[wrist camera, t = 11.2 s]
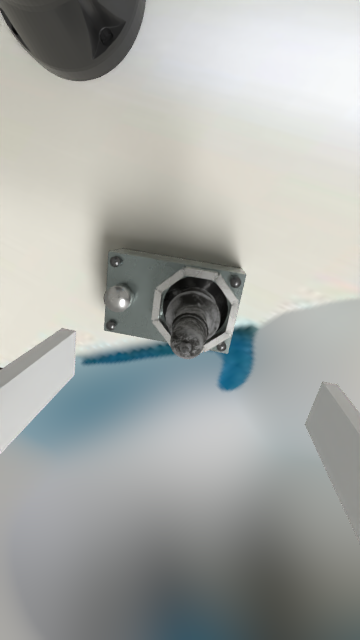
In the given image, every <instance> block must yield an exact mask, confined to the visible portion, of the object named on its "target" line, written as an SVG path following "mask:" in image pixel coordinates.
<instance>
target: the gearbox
mask: <svg viewBox="0 0 360 640" xmlns="http://www.w3.org/2000/svg"><path fill="white" fill-rule="evenodd" d="M245 278H246V274H245V272H244V271H243V269H242V268H236V267H230V266H225V265H219V264H213V263H207V262H201V261H195V260H189V259H183V258H177V257H171V256H165V255H159V254H153V253H147V252H141V251H135V250H129V249H123V248H122V249H117V250H113V251H109V254H108V272H107V289H106V292H105V294H104V302H105V305H106V306H105V323H104V330H105V331H110V332H115V333H121V334H126V335H131V336H137V337H142V338H147V339H152V340H158V341H163V342H168V343H169V345H170V339H171V332H170V330H169V329H168V326H167V323H166V316H165V315H166V310H167V307H168V305H169V303H170V302H171V301H172V300H173V298H174V297H176V296H177V295H178V294H179V293H180V292H181V291H183V290H184V289H187V288H190V287H199V288H203V289H205V290H207V291H208V292H209V293H210V294H212V296H213V297H214V299H215V301H216V304H217V306H218V308H219V312H220V324H219V327H218V329H217V331H216V333H215V334H214V335H213V336H212V337H211V338H209V339H208V340H206V342H205V343H204V346H203V349H202V351H201V353H203V351H204V352H206V351H208V350H211V351H216V352H221V353H227V354H228V350H229V346H230V342H231V337H232V334H233V330H234V325H235V321H236V317H237V312H238V308H239V303H240V299H241V295H242V290H243V286H244V282H245ZM170 346H171V345H170Z"/></svg>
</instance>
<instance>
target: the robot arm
mask: <svg viewBox="0 0 360 640" xmlns="http://www.w3.org/2000/svg"><path fill="white" fill-rule="evenodd" d="M145 2H146V0H0V11H1V13H2V15H3V17H4V19H5V21H6V23H7V25H8V27H9V28H10V30H11V32H12V33H13V35H14V36H15V37H16V39H17V40H18V42H19V43H20V44H21V45H22V46H23V48H24V49H25V50H26V51H27V52H28V53H29V54H30V55H31V56H32V57H33V58H34V59H35V60H37V61H38V62H39V63H40V64H41V65H42V66H43V67H44V68H46V69H47V70H48V71H50V72H51V73H53V74H55V75H57V76H59V77H62V78H64V79H68V80H73V81H86V80H92V79H95V78H98V77H101V76H103V75H105V74H106V73H108V72H109V71H111V70H112V69H113V68H115V67H116V66H117V65H118V64H119V63H120V62H121V61H122V60H123V59H124V57H125V56H126V55H127V53H128V52H129V50H130V49H131V47H132V45H133V43H134V41H135V39H136V37H137V35H138V32H139V29H140V26H141V23H142V19H143V15H144V9H145ZM75 346H76V331H74V330H69V329H64V328H62V329H60V330H59V331H57V332H56V333H55V334H53V335H52V336H50V337H49V338H47V339H46V340H44V341H43V342H41V343H40V344H38V345H37V346H35V347H34V348H32V349H31V350H29V351H28V352H26V353H25V354H23V355H22V356H20V357H19V358H17V359H16V360H14V361H13V362H11V363H10V364H8V365H7V366H6V367H4V368H0V454H1V452H3V451H4V450H5V448H6V447H7V446H8V445H9V444H10V443H11V442H12V441H13V440H14V439H15V438H16V437H17V436H18V435H19V433H20V432H21V431H22V430H23V429H24V428H25V427H26V426H27V425H28V424H29V423H30V422H31V421H32V420H33V419H34V418H35V416H36V415H37V414H38V413H39V412H40V411H41V410H42V409H43V408H44V407H45V406H46V405H47V404H48V403H49V402H50V400H51V399H52V398H53V397H54V396H55V395H56V394H57V393H58V392H59V391H60V389H62V388H63V387H64V386H65V384H66V383H67V382H68V381H69V380H70V379H71V378H72V377H73V376H74V374H75ZM305 425H306V428H307V430H308V432H309V434H310V436H311V439H312V441H313V443H314V445H315V447H316V450H317V452H318V454H319V456H320V458H321V460H322V463H323V465H324V467H325V469H326V471H327V473H328V476H329V478H330V480H331V482H332V484H333V487H334V489H335V491H336V493H337V495H338V497H339V500H340V502H341V504H342V506H343V508H344V511H345V513H346V515H347V517H348V519H349V522H350V524H351V526H352V528H353V530H354V532H355V534H356V537H357V539H358V541H359V543H360V413H359V411H358V410H357V409H356V408H355V406H354V405H353V404H352V402H351V401H350V400H349V399H348V397H347V396H346V395H345V393H344V392H343V391H342V390H341V388H340V387H339V386H338V385H337V384H332V383H327V382H322V384H321V386H320V389H319V391H318V394H317V396H316V398H315V401H314V403H313V406H312V408H311V411H310V413H309V415H308V418H307V421H306V423H305Z"/></svg>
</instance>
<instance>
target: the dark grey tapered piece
mask: <svg viewBox="0 0 360 640" xmlns="http://www.w3.org/2000/svg"><path fill="white" fill-rule="evenodd" d="M165 316H166V323H167V326H168V329H169V330H170V332H171V339H170V345H171V348H172V350H173V352H174V353H175V354H176V355H177V356H179V357H181V358H184V359H191V358H194V357H196V356H198V355H199V354H200V353H201V351H202V349H203V346H204V343H205V342H206V340H208V339H209V338H211V337H212V336H213V335H214V334H215V333H216V331H217V329H218V327H219V324H220V312H219V308H218V306H217V304H216V301H215V299H214V297H213V296H212V294H210V293H209V292H208V291H207V290H205V289H203V288H199V287H190V288H187V289H184V290H183V291H181V292H180V293H179V294H178V295H177V296H176V297H174V298H173V300H172V301H171V302H170V303H169V305H168V307H167V310H166V315H165Z"/></svg>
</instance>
